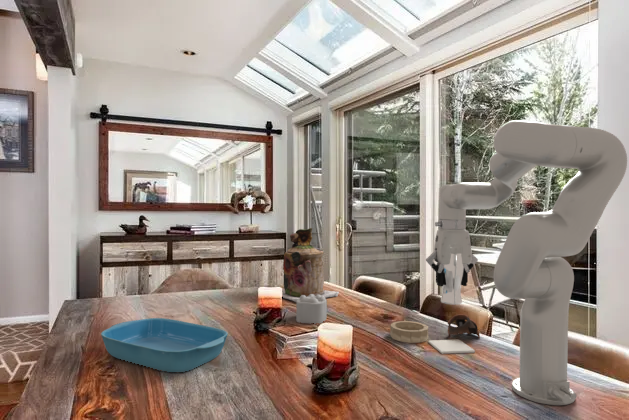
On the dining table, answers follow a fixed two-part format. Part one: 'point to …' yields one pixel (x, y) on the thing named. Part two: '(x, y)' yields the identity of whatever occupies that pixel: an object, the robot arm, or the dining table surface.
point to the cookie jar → (303, 268)
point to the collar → (409, 331)
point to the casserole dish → (164, 343)
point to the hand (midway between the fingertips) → (451, 285)
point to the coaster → (451, 346)
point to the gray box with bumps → (311, 309)
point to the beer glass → (452, 280)
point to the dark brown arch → (462, 325)
